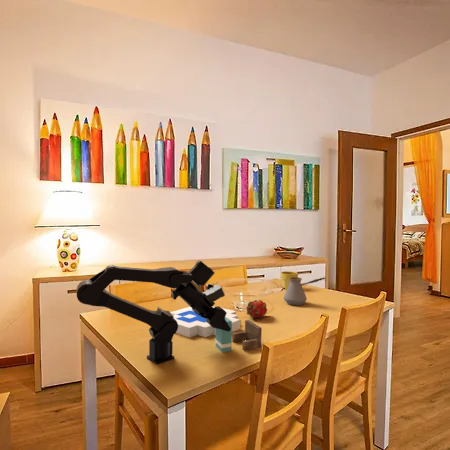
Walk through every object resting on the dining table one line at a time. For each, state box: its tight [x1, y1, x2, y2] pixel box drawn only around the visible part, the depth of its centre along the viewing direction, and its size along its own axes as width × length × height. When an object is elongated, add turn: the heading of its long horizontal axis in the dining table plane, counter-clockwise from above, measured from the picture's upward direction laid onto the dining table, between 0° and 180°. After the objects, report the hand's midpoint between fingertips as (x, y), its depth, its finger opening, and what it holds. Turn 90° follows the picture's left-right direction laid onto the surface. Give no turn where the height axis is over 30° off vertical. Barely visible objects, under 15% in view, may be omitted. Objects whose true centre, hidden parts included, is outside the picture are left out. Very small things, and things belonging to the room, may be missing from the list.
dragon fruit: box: [246, 299, 268, 320], centre depth 154 cm, size 8×8×12 cm
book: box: [214, 317, 233, 353], centre depth 119 cm, size 4×6×10 cm, turn 23°
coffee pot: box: [283, 276, 327, 306], centre depth 175 cm, size 21×12×15 cm, turn 57°
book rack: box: [232, 319, 262, 352], centre depth 122 cm, size 6×9×7 cm
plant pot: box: [280, 270, 299, 291], centre depth 211 cm, size 10×10×10 cm
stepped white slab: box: [169, 305, 241, 338], centre depth 143 cm, size 28×4×28 cm
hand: (224, 326), depth 119 cm, fingers open, 9 cm apart
